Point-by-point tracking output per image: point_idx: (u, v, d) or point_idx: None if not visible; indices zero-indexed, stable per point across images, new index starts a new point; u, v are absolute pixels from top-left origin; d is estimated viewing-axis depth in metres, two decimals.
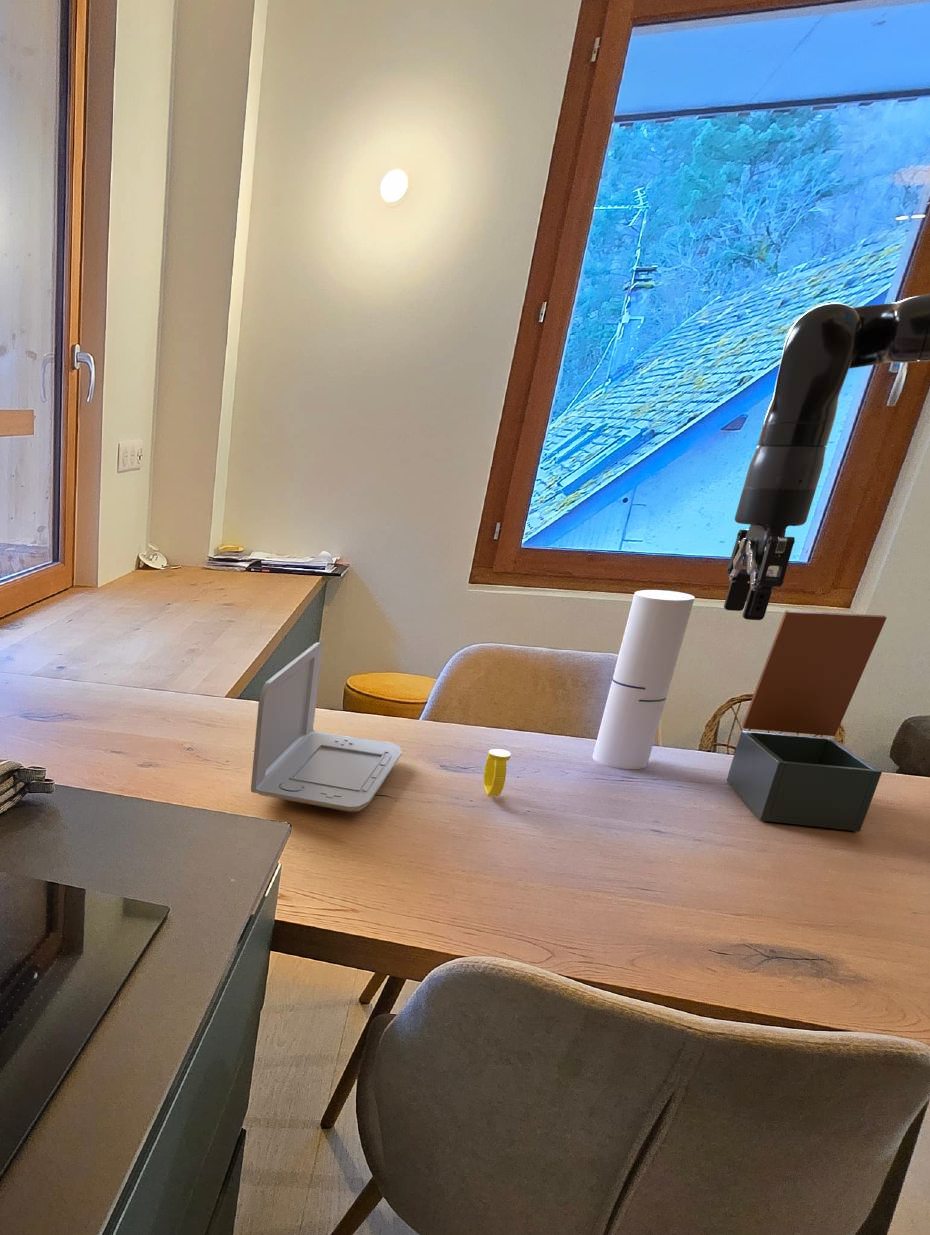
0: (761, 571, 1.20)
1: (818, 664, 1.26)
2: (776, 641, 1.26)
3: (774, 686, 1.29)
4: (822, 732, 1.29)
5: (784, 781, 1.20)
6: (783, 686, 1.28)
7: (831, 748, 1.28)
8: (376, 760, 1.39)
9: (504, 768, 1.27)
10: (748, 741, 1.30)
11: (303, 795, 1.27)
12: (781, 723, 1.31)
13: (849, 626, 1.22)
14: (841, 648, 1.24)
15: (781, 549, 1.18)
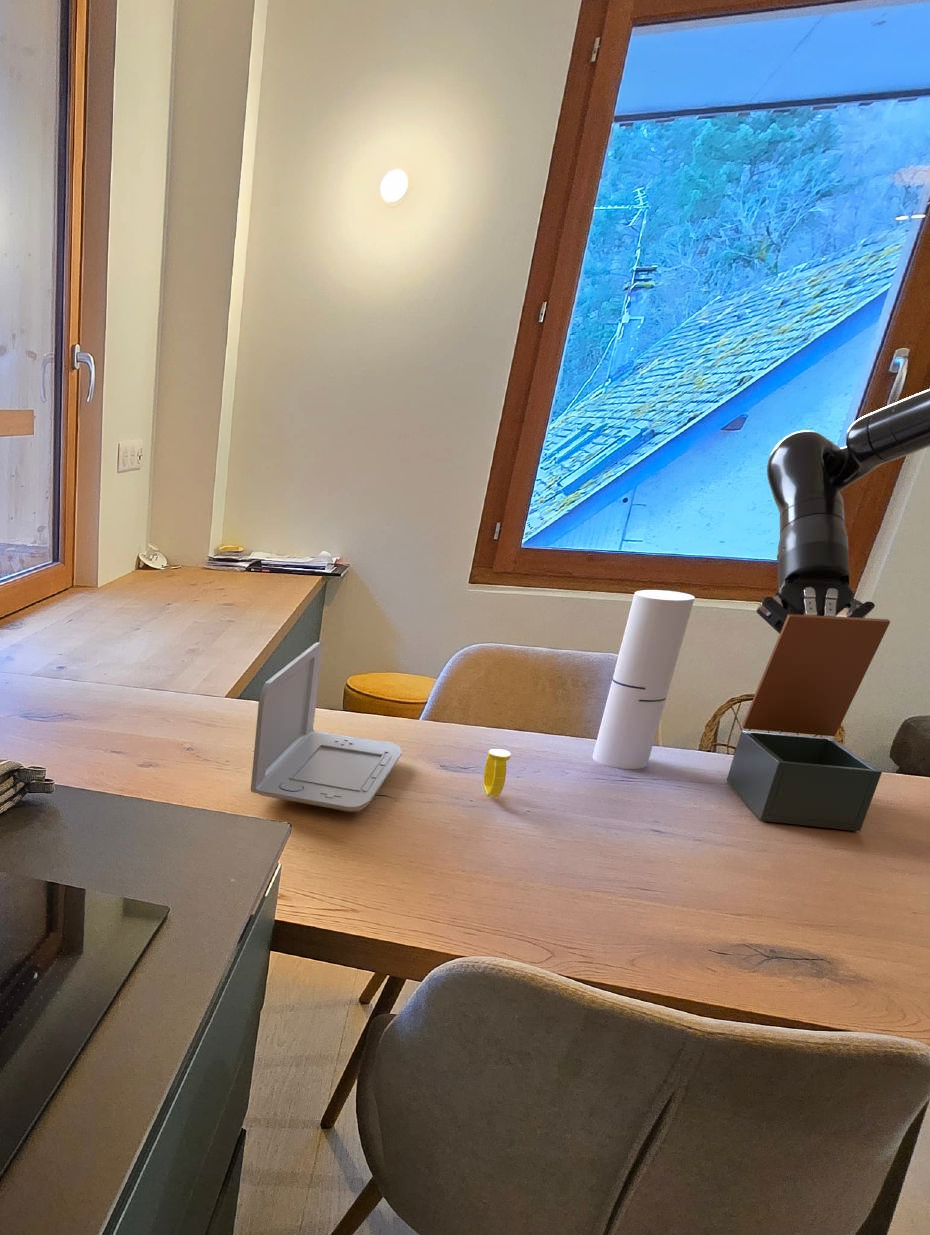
0: None
1: (820, 667, 1.25)
2: (778, 644, 1.25)
3: (775, 688, 1.28)
4: (822, 732, 1.29)
5: (784, 781, 1.20)
6: (784, 688, 1.28)
7: (831, 748, 1.28)
8: (376, 760, 1.39)
9: (504, 768, 1.27)
10: (748, 741, 1.30)
11: (303, 795, 1.27)
12: (781, 724, 1.31)
13: (852, 630, 1.21)
14: (843, 651, 1.23)
15: (766, 611, 1.30)
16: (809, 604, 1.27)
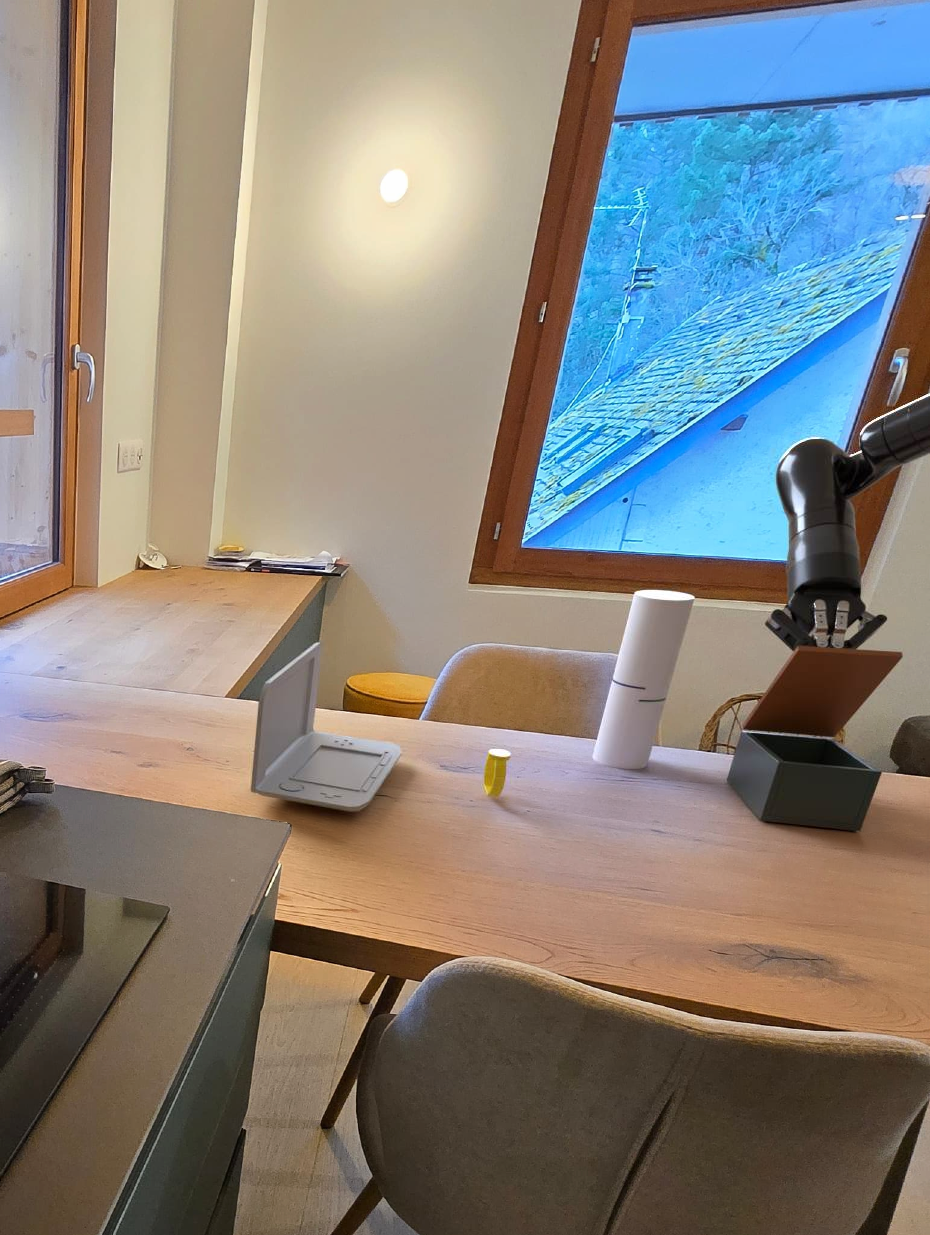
0: None
1: (825, 688, 1.23)
2: (784, 670, 1.22)
3: (778, 702, 1.27)
4: (822, 734, 1.29)
5: (784, 781, 1.20)
6: (787, 702, 1.26)
7: (831, 748, 1.28)
8: (376, 760, 1.39)
9: (504, 768, 1.27)
10: (748, 741, 1.30)
11: (303, 795, 1.27)
12: (781, 727, 1.30)
13: (862, 662, 1.18)
14: (851, 677, 1.20)
15: (775, 624, 1.26)
16: (819, 617, 1.24)
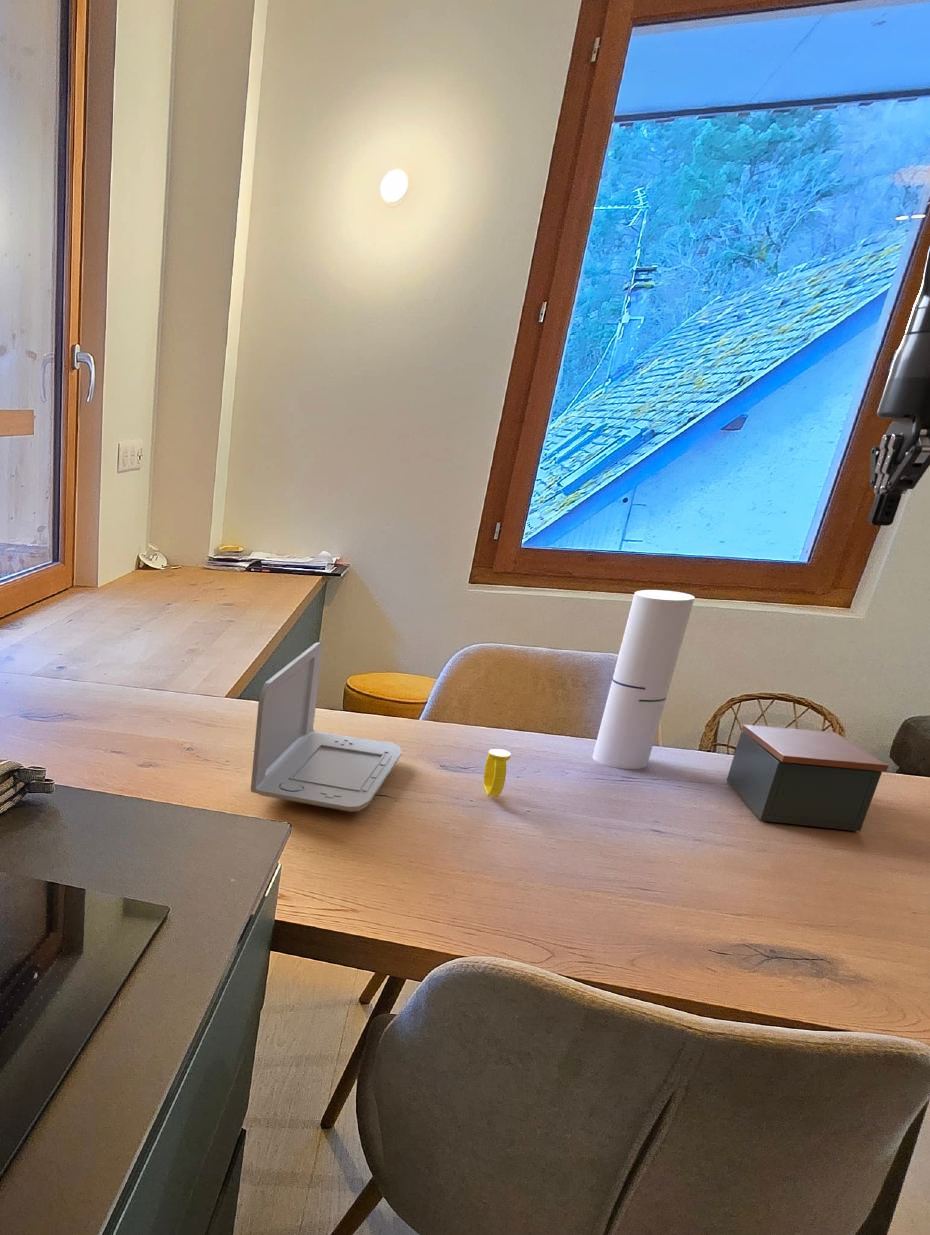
0: (895, 476, 1.18)
1: None
2: (772, 753, 1.22)
3: None
4: None
5: (784, 781, 1.20)
6: None
7: None
8: (376, 760, 1.39)
9: (504, 768, 1.27)
10: (748, 741, 1.30)
11: (303, 795, 1.27)
12: None
13: None
14: None
15: (921, 460, 1.15)
16: None
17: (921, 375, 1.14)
